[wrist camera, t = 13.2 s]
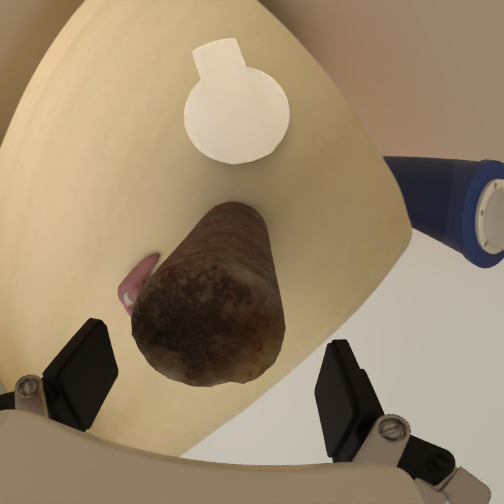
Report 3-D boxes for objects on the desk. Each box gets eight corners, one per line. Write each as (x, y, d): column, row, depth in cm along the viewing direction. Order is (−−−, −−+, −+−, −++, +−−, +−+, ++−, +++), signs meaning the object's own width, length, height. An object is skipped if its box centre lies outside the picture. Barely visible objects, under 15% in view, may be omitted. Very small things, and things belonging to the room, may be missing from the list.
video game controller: (139, 261, 33) (104, 296, 28) (156, 247, 30) (117, 285, 25) (190, 316, 36) (163, 355, 30) (211, 309, 33) (182, 352, 28)
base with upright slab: (292, 150, 28) (320, 143, 16) (211, 174, 28) (185, 183, 17) (267, 74, 25) (277, 25, 14) (186, 99, 26) (149, 65, 14)
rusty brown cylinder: (204, 194, 29) (124, 254, 10) (271, 202, 29) (310, 278, 10) (198, 260, 31) (138, 388, 12) (261, 268, 32) (275, 408, 13)
